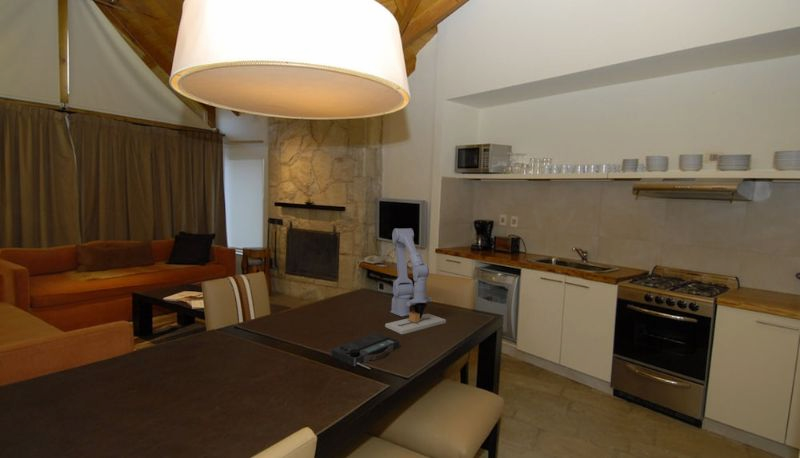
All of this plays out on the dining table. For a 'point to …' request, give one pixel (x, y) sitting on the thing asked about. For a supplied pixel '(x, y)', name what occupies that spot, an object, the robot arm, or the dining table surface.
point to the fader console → (415, 324)
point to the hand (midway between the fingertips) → (418, 318)
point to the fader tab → (414, 317)
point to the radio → (365, 349)
